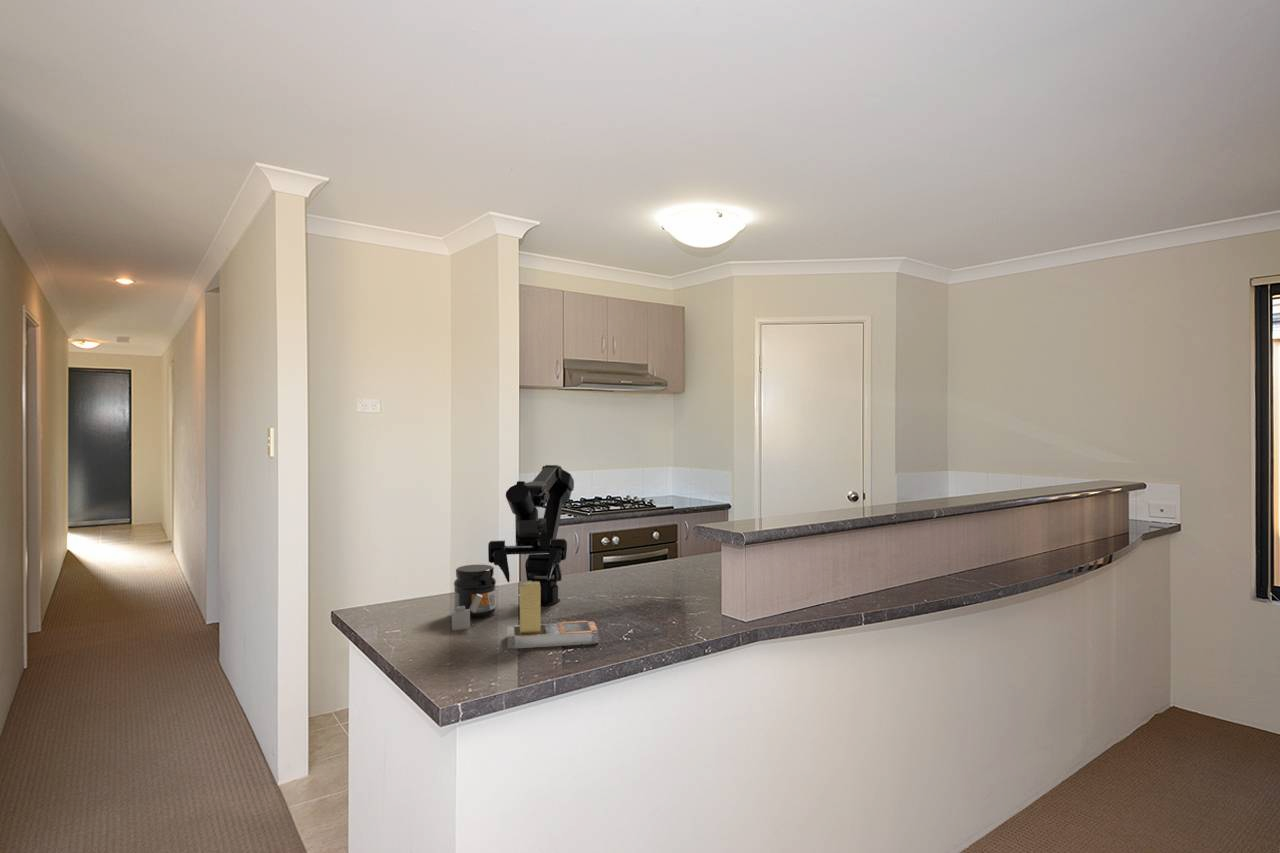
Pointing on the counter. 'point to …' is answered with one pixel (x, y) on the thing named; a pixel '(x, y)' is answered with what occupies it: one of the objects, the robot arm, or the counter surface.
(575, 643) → the divided tray
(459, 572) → the supplement container
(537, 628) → the tan block
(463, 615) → the lighter
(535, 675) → the counter surface
